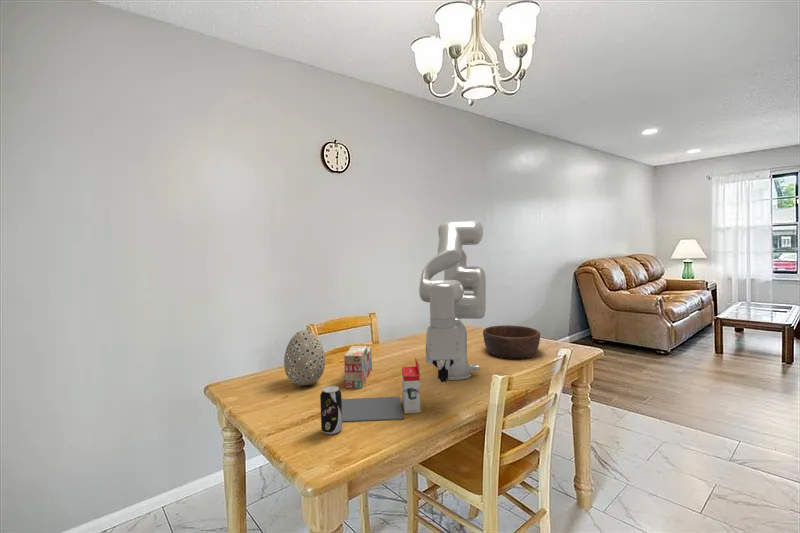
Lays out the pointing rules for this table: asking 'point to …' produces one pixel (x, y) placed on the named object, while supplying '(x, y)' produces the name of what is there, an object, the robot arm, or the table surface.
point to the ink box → (411, 389)
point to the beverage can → (331, 410)
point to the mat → (371, 409)
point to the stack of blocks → (357, 366)
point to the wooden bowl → (511, 341)
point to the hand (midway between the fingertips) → (443, 380)
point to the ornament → (304, 358)
